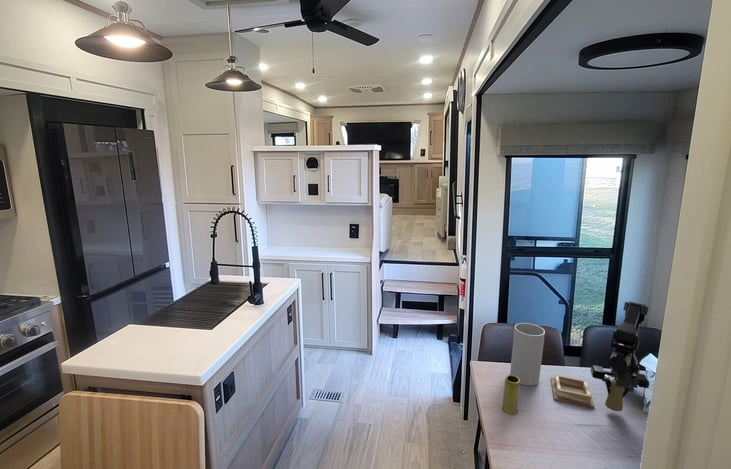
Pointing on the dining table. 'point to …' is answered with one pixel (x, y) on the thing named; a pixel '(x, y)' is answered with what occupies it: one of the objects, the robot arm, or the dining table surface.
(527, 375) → the cylinder vase
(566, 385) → the socket block
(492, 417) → the dining table surface
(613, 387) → the cork
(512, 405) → the vase
